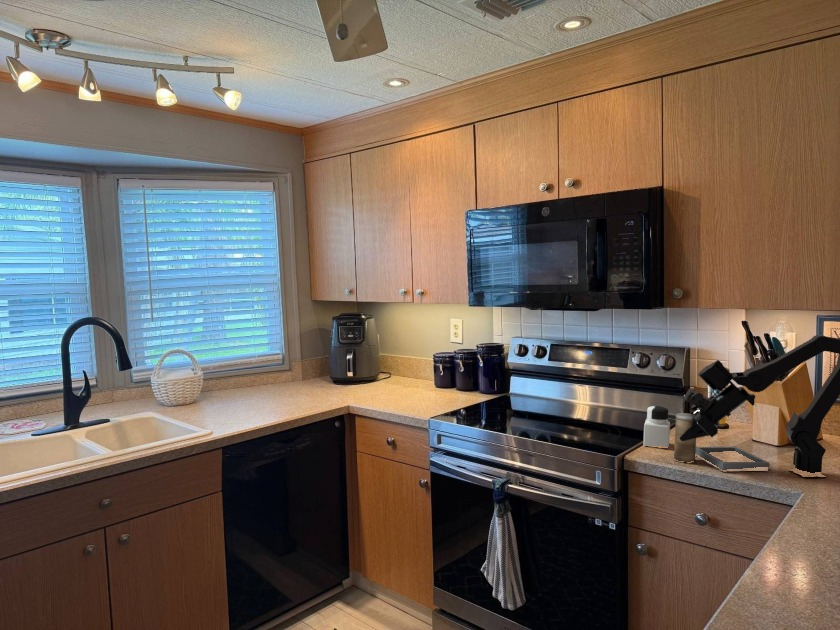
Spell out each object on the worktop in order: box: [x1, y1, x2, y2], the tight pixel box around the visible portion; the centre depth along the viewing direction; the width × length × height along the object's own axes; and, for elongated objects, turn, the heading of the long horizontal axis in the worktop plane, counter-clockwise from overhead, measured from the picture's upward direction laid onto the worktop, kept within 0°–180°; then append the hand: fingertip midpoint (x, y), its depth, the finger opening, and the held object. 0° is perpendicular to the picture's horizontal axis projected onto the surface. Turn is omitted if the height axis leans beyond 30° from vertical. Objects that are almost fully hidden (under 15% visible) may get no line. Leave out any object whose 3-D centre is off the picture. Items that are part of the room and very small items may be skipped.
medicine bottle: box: [642, 405, 671, 448], centre depth 184 cm, size 7×7×12 cm
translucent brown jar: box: [673, 412, 697, 462], centre depth 169 cm, size 6×6×13 cm
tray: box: [695, 446, 770, 470], centre depth 168 cm, size 15×13×2 cm
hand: (680, 437), depth 170 cm, fingers open, 6 cm apart
